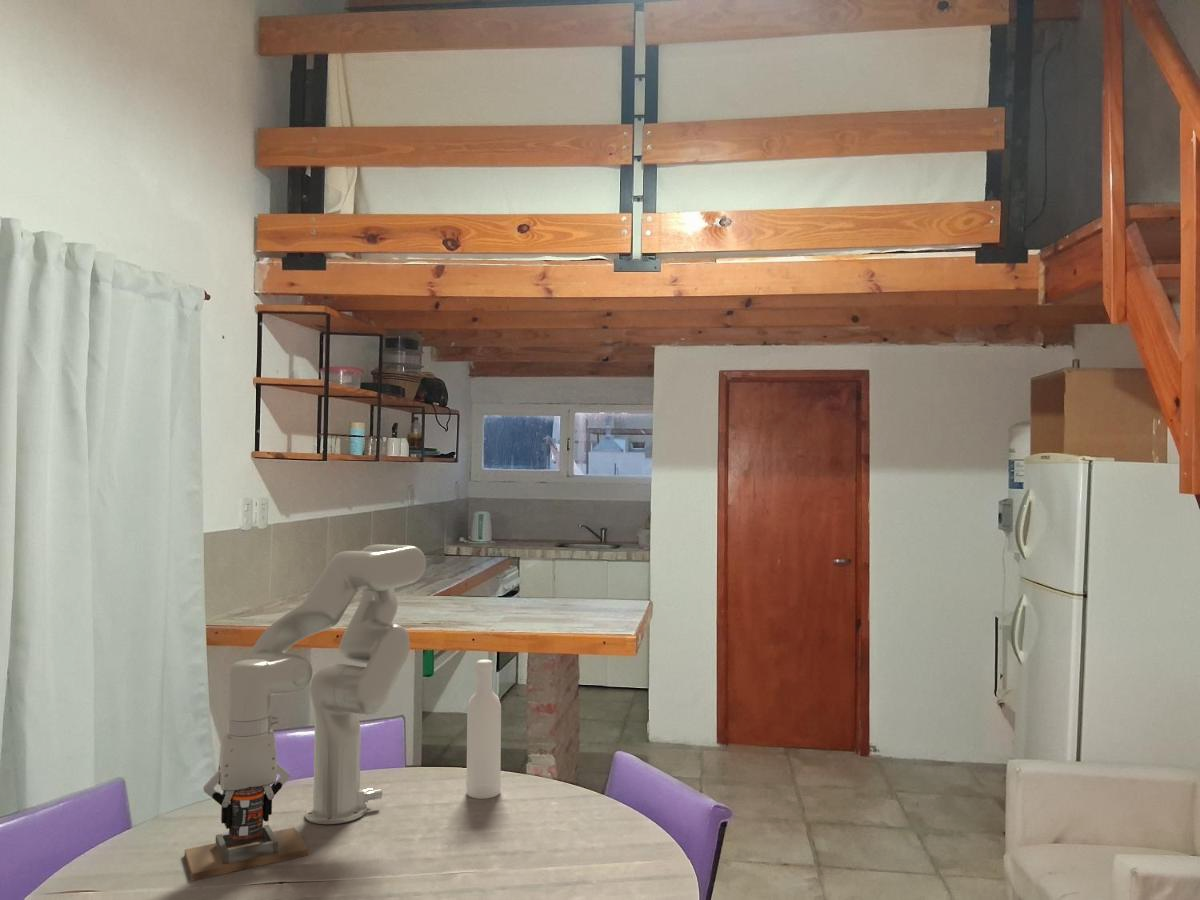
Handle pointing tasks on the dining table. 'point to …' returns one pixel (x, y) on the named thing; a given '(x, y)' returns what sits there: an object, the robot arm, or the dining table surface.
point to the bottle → (484, 737)
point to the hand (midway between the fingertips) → (246, 821)
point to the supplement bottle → (247, 813)
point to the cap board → (244, 852)
